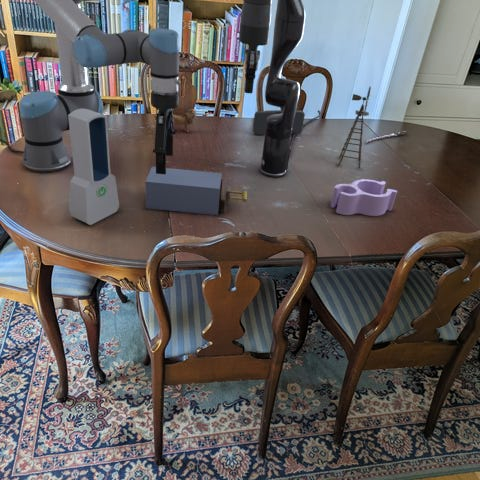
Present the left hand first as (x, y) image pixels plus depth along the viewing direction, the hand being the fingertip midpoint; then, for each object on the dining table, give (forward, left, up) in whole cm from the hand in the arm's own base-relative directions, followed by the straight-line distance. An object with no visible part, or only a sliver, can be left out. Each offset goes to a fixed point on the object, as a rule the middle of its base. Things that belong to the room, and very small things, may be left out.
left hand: (164, 164), depth 138 cm
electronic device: (-17, -13, -13) cm, 25 cm away
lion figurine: (-10, +63, -13) cm, 65 cm away
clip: (+62, +15, -13) cm, 65 cm away
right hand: (+22, +2, +23) cm, 32 cm away
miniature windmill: (+61, +52, -13) cm, 81 cm away
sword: (+81, +88, -13) cm, 120 cm away
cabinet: (+6, +1, -13) cm, 14 cm away
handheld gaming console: (+31, +75, -13) cm, 82 cm away
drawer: (+12, +1, -12) cm, 17 cm away
